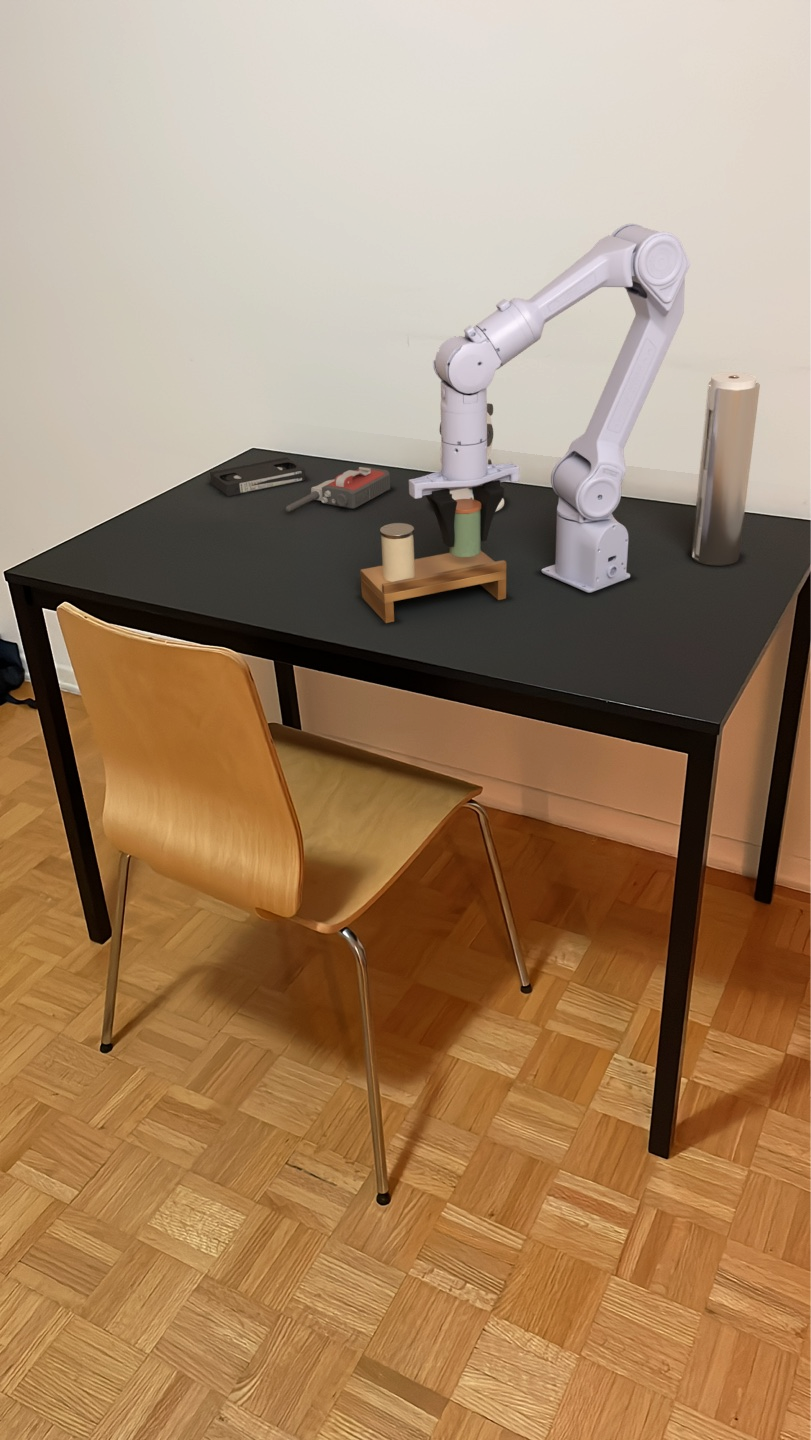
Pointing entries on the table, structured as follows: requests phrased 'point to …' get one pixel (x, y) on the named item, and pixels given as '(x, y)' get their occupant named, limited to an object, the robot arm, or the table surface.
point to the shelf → (433, 580)
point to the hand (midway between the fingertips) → (465, 541)
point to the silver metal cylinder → (724, 467)
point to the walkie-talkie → (348, 488)
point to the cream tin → (397, 551)
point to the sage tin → (467, 528)
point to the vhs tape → (257, 476)
